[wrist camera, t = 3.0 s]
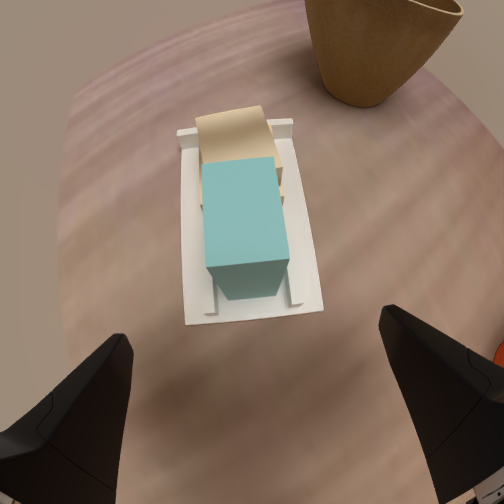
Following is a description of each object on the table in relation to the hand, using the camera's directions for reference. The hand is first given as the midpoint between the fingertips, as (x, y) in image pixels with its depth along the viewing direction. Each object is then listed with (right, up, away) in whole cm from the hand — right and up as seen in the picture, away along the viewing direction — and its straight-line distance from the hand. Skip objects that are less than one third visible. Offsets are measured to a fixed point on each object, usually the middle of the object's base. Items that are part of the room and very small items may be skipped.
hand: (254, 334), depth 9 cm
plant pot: (+12, +21, +19) cm, 31 cm away
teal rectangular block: (0, +2, +12) cm, 12 cm away
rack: (-1, +5, +14) cm, 15 cm away
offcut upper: (-1, +10, +12) cm, 15 cm away
